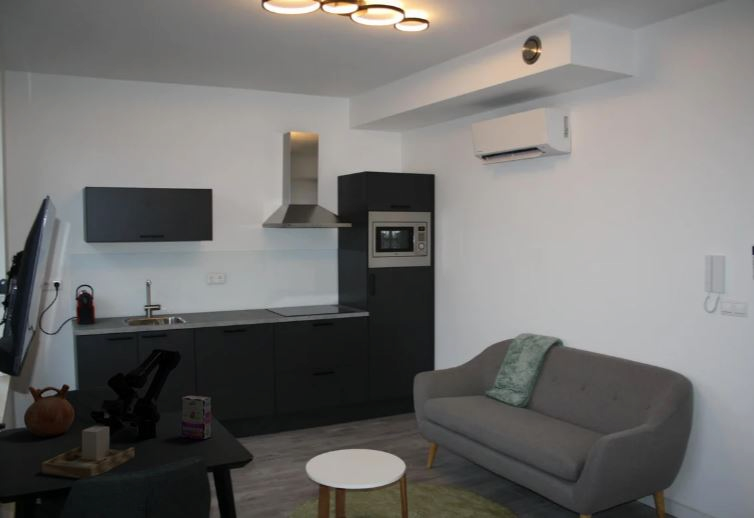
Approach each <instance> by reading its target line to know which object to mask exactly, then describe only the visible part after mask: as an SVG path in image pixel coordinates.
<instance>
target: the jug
mask: <svg viewBox="0 0 754 518" xmlns="http://www.w3.org/2000/svg"><path fill="white" fill-rule="evenodd" d="M70 388H71V387H70V386H69V385H68V384H66V383H65V384H63V385H62V387H61V388H60V389H59V388H58V387H54V386H46V387H44V388H42V389H41V388H37V389H36V388H34V387H33V386H28V390H29V392H30V394H31V396H32V398H33V400H34V402H33V403H31V404H30V405H29V406H28V407H27V409H26V411H25V413H24V415H23V421H24V425H25V428H26V429H27V430H28V431H29V432H30V433H31V434H32V435H33V436H34V437H36V436H37V438H43V437H44V438H53V436H54V437H58V436H57V435H59V436H61V434H62V435H64V434H65V433H66V432H67V430H68V429H69V428H70V427H71V425H72V423H73V422H74V419H75V410H74V407H73V406H72V404H71V403H70V402H69V401H68V400H67V399H66V396H67V394H68V392H69V390H70ZM48 391H54V392H56V393H57V395H47V396H42V395H43V394H44V393H46V392H48ZM63 433H64V434H63Z"/></svg>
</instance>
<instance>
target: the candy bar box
mask: <svg viewBox="0 0 754 518" xmlns="http://www.w3.org/2000/svg"><path fill="white" fill-rule="evenodd" d="M182 436H186V437H192V438H198V439H206V440H208V439H207V438H209V437H211V438H212V397H209V396H208V397H207V396H202V395H201V396H199V395H191V394H190V395H185V396H182V397H181V437H182ZM198 439H197V440H198ZM209 439H210V438H209Z"/></svg>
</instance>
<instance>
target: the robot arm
mask: <svg viewBox="0 0 754 518" xmlns="http://www.w3.org/2000/svg"><path fill="white" fill-rule="evenodd" d="M181 356H182V355H181V353H179V351H178V350H167V349H164V348H153V349H152V350H151V353H150V354H149V355H148V356H147V358H146V359H145V360H144V361H143V362H142V363H141V364H140V365H139V366H138V367H137V368H134V369H132V370H130V371H129V372H127V373H126V374H125V375H124V373H123V372H117V373H116V374H114V375H113V376H112V377H110V378H109V379H108V381H107V386H108V387H109V389H110V390H111V391H112V392H113V393H114V395H116V396H117V397H116V399H113V400H111V399H103V401H102V404H101V410H97V409H94V410H92V411H91V412H90V414H89V417H90V419H91V420H92V421H93V422H94V423H96V424H99V425H103V426H107V427H109V438H110V437H112V436H113V435H114V434H115V433H117V432H118V431H120V430H121V429H124V428H126V426H125V424H126V423H130V424H129V425H130V427H131V428H137V433H136V434H137V437H138V439H139V440H144V439H145V438H147V439H153V438H158V437H157V423H159V421H160V420H161V414H160V413H159V412H158V404H157V400H158V398H159V396H160V394H161V391H162V389H163V388H164V385H165V383H166V381H167V379H168V377H169V374H170V372H172V371H173V370H174V369H176V368H177V367H178V365H179V363H180V361H181V358H182V357H181ZM157 366H158V368H157V370H156V372H155V374H154V377H153V378H152V381H151V383H150V385H149V386H148V389H147V391H146V392H145V395H144V396H143V397H139V394H138V391H137V390H135V389H139V390H141V389H142V388H144V386H145V385H146V383H147V382H148V376H149V375H150V374H151V373H152V371H154V369H155V368H156V367H157ZM135 399H137V400H136V402H135V404H134V405H133V409H132V408H131V405H132V403H133V402H134V400H135ZM103 410H105V412H104V411H103ZM131 410H132V412H131ZM130 412H131V413H130ZM145 440H146V439H145Z"/></svg>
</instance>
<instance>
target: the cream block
mask: <svg viewBox="0 0 754 518" xmlns="http://www.w3.org/2000/svg"><path fill="white" fill-rule="evenodd" d="M81 445H82V459H90V460H98V459H100V458H102V457H104V456H106V455H108V454H110V449H111V448H110V437H109V427H107V426H104V425H93V426H90V427H88V428H85V429H83V430H81Z"/></svg>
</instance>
